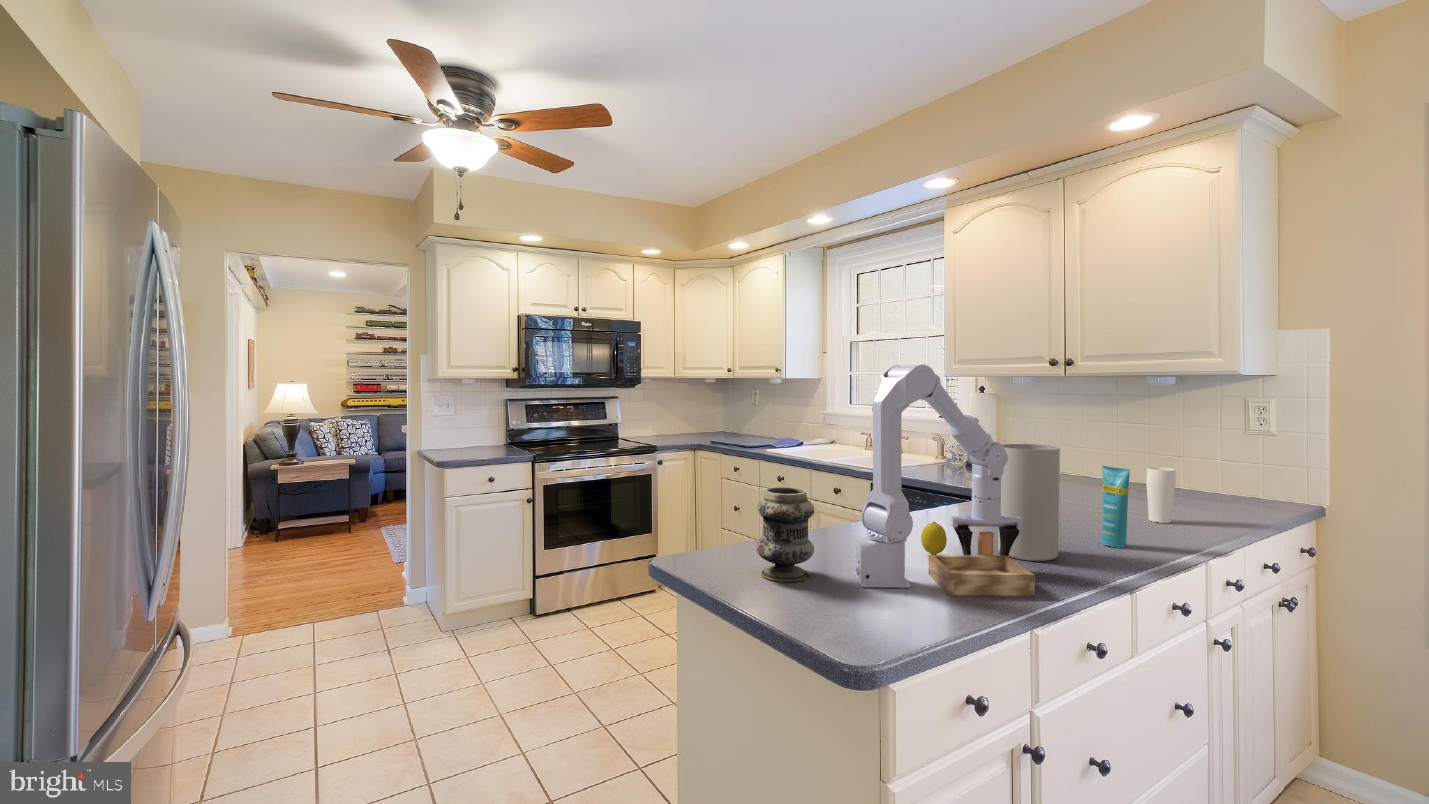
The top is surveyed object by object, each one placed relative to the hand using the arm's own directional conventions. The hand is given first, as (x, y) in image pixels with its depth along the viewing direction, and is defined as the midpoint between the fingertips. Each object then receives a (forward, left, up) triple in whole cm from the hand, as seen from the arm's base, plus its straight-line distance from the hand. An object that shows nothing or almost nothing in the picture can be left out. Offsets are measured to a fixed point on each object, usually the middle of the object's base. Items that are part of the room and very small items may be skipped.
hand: (985, 560), depth 138 cm
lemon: (-8, +10, -2) cm, 13 cm away
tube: (+38, +20, -2) cm, 43 cm away
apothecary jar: (-43, -5, -2) cm, 43 cm away
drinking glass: (+65, +46, -2) cm, 80 cm away
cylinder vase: (+14, +12, -2) cm, 19 cm away
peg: (0, 0, -2) cm, 2 cm away
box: (-5, -10, -2) cm, 11 cm away
